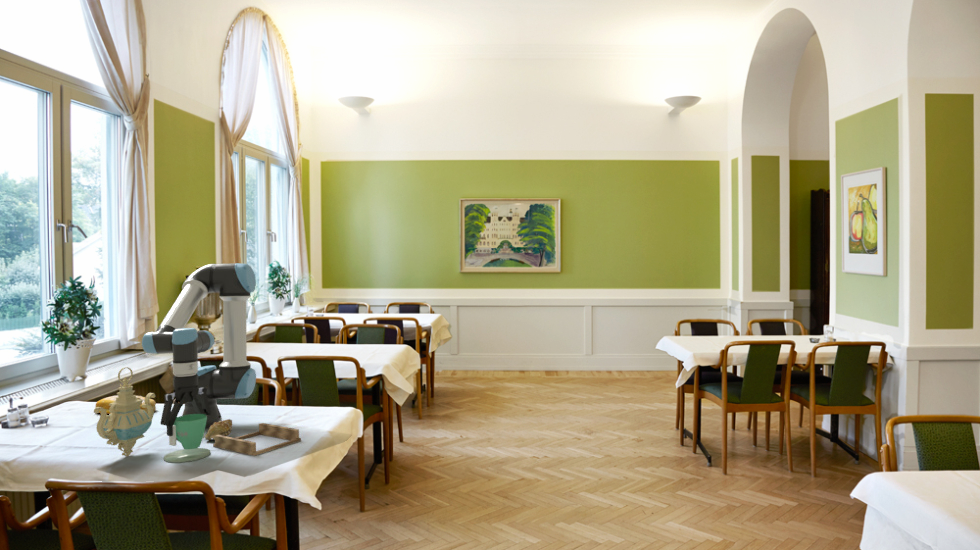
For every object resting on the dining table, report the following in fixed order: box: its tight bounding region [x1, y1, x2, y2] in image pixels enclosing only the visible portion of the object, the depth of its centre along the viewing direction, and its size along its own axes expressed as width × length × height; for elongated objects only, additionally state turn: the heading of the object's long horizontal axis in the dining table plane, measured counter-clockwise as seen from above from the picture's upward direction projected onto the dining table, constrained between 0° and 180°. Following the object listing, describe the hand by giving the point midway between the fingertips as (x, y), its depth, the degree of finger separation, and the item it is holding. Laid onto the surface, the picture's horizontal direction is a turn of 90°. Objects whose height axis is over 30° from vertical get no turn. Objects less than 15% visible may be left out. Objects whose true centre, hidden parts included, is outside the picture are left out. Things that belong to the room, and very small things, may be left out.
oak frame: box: [213, 422, 302, 457], centre depth 219 cm, size 22×20×4 cm
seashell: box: [204, 418, 233, 441], centre depth 227 cm, size 9×8×10 cm
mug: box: [174, 414, 207, 449], centre depth 205 cm, size 15×10×10 cm
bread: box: [94, 394, 157, 415], centre depth 267 cm, size 13×26×8 cm, turn 78°
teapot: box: [93, 367, 156, 457], centre depth 206 cm, size 24×12×30 cm, turn 167°
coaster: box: [163, 447, 211, 464], centre depth 205 cm, size 14×14×1 cm
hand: (187, 441), depth 205 cm, fingers closed on mug, 9 cm apart
